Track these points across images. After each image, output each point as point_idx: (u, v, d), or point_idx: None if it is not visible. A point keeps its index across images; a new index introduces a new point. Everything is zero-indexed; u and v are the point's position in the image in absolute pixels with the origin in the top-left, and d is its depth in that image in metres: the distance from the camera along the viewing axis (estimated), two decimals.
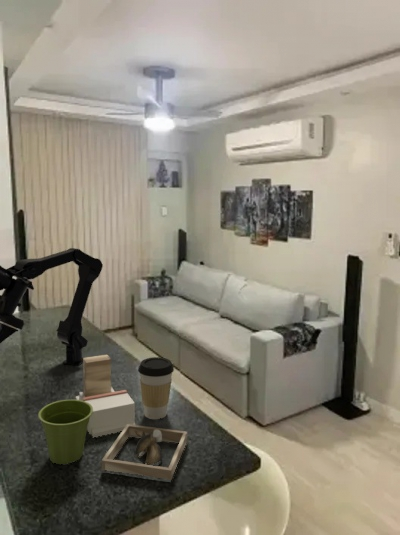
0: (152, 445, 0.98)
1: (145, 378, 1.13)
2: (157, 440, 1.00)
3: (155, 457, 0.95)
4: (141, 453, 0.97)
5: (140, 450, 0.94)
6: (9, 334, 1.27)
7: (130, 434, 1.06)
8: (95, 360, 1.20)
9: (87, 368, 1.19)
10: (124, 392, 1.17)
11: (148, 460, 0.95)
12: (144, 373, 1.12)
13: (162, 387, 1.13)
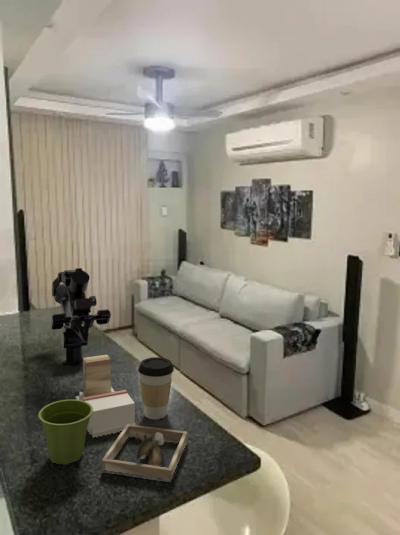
0: (154, 448, 0.96)
1: (145, 378, 1.13)
2: (159, 443, 0.99)
3: (157, 460, 0.94)
4: (143, 456, 0.96)
5: (142, 453, 0.93)
6: None
7: (130, 434, 1.06)
8: (95, 360, 1.20)
9: (87, 368, 1.19)
10: (124, 392, 1.17)
11: (150, 464, 0.93)
12: (144, 373, 1.12)
13: (162, 387, 1.13)
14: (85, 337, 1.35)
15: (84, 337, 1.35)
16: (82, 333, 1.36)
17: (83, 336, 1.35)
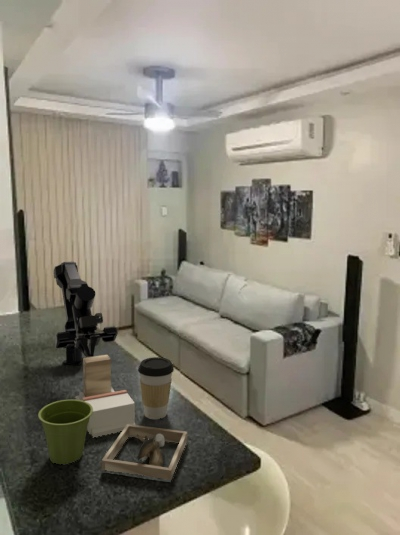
0: (155, 450, 0.96)
1: (145, 378, 1.13)
2: (160, 444, 0.98)
3: (158, 462, 0.93)
4: (143, 458, 0.96)
5: (143, 455, 0.92)
6: None
7: (130, 434, 1.06)
8: (95, 360, 1.20)
9: (87, 368, 1.19)
10: (124, 392, 1.17)
11: None
12: (144, 373, 1.12)
13: (162, 387, 1.13)
14: (91, 356, 1.29)
15: (90, 356, 1.29)
16: (88, 352, 1.29)
17: (89, 355, 1.29)
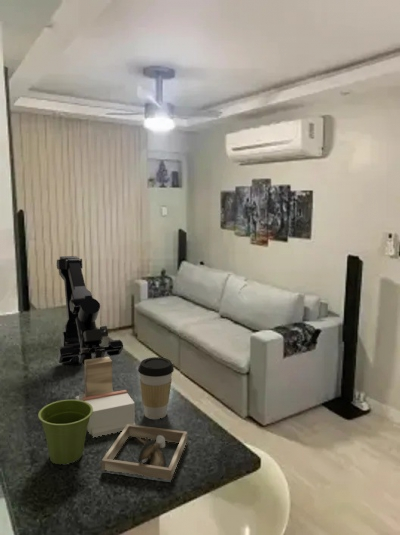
0: (155, 451, 0.95)
1: (145, 378, 1.13)
2: (160, 446, 0.97)
3: (159, 464, 0.93)
4: (144, 460, 0.95)
5: (143, 457, 0.92)
6: None
7: (130, 434, 1.06)
8: (96, 362, 1.19)
9: (88, 370, 1.17)
10: (124, 392, 1.17)
11: None
12: (144, 373, 1.12)
13: (162, 387, 1.13)
14: None
15: None
16: None
17: None
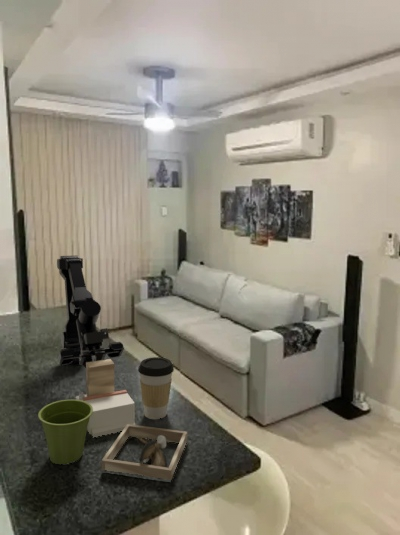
0: (157, 452, 0.95)
1: (145, 378, 1.13)
2: (161, 446, 0.97)
3: (160, 464, 0.93)
4: (145, 460, 0.95)
5: (145, 457, 0.92)
6: None
7: (130, 434, 1.06)
8: (98, 365, 1.17)
9: (90, 373, 1.15)
10: (124, 392, 1.17)
11: None
12: (144, 373, 1.12)
13: (162, 387, 1.13)
14: None
15: None
16: None
17: None
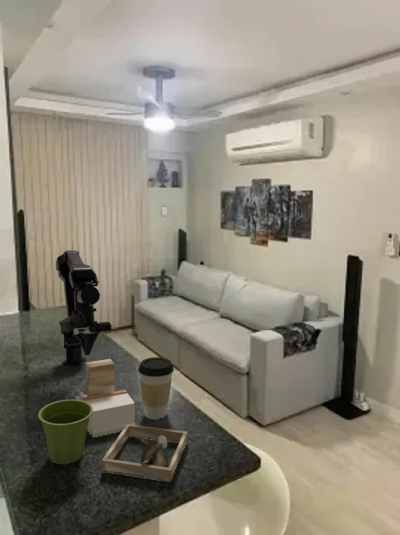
0: (158, 452, 0.95)
1: (145, 378, 1.13)
2: (162, 446, 0.97)
3: (161, 464, 0.93)
4: (146, 460, 0.95)
5: (146, 457, 0.92)
6: (94, 339, 1.34)
7: (130, 434, 1.06)
8: (98, 365, 1.17)
9: (90, 373, 1.15)
10: (124, 392, 1.17)
11: None
12: (144, 373, 1.12)
13: (162, 387, 1.13)
14: (85, 351, 1.33)
15: (84, 351, 1.33)
16: (83, 347, 1.33)
17: (83, 350, 1.33)
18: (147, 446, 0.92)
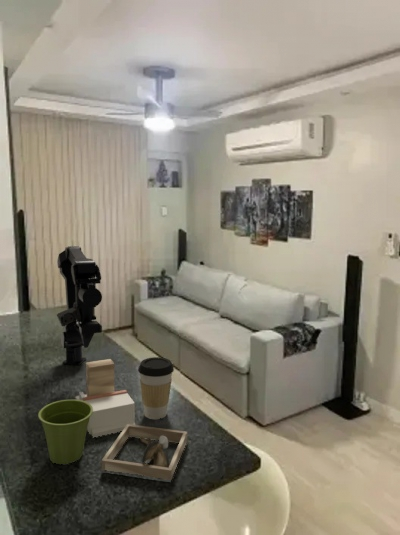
0: (159, 452, 0.95)
1: (145, 378, 1.13)
2: (163, 446, 0.97)
3: (163, 464, 0.93)
4: (147, 460, 0.95)
5: (147, 457, 0.92)
6: (92, 333, 1.34)
7: (130, 434, 1.06)
8: (98, 365, 1.17)
9: (90, 373, 1.15)
10: (124, 392, 1.17)
11: None
12: (144, 373, 1.12)
13: (162, 387, 1.13)
14: (83, 344, 1.34)
15: (83, 343, 1.35)
16: (82, 339, 1.35)
17: (82, 342, 1.35)
18: (148, 446, 0.92)
